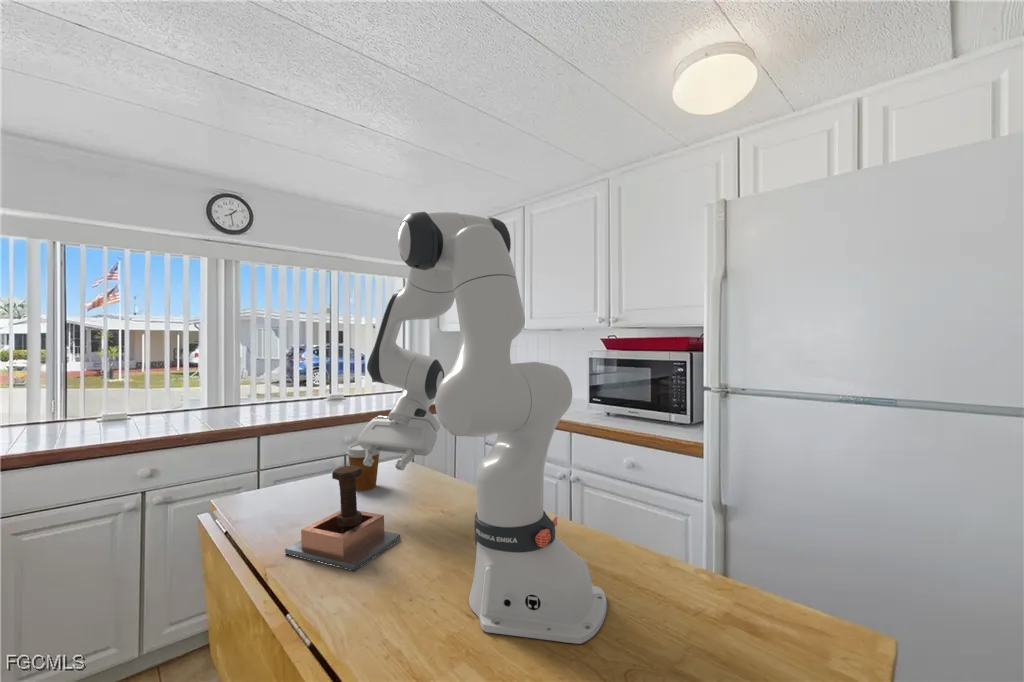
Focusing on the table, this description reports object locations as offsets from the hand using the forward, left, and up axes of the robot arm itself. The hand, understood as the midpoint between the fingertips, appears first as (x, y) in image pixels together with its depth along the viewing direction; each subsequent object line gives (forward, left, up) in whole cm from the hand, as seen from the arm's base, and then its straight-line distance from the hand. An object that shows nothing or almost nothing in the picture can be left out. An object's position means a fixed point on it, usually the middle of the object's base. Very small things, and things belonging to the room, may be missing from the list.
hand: (382, 466), depth 106 cm
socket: (0, +12, -13) cm, 18 cm away
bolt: (0, +11, -12) cm, 17 cm away
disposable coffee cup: (+22, -19, -14) cm, 32 cm away
